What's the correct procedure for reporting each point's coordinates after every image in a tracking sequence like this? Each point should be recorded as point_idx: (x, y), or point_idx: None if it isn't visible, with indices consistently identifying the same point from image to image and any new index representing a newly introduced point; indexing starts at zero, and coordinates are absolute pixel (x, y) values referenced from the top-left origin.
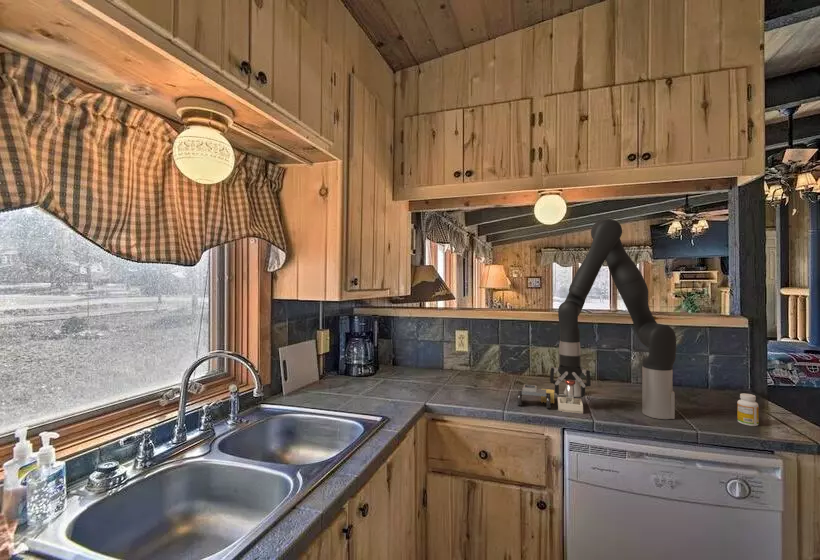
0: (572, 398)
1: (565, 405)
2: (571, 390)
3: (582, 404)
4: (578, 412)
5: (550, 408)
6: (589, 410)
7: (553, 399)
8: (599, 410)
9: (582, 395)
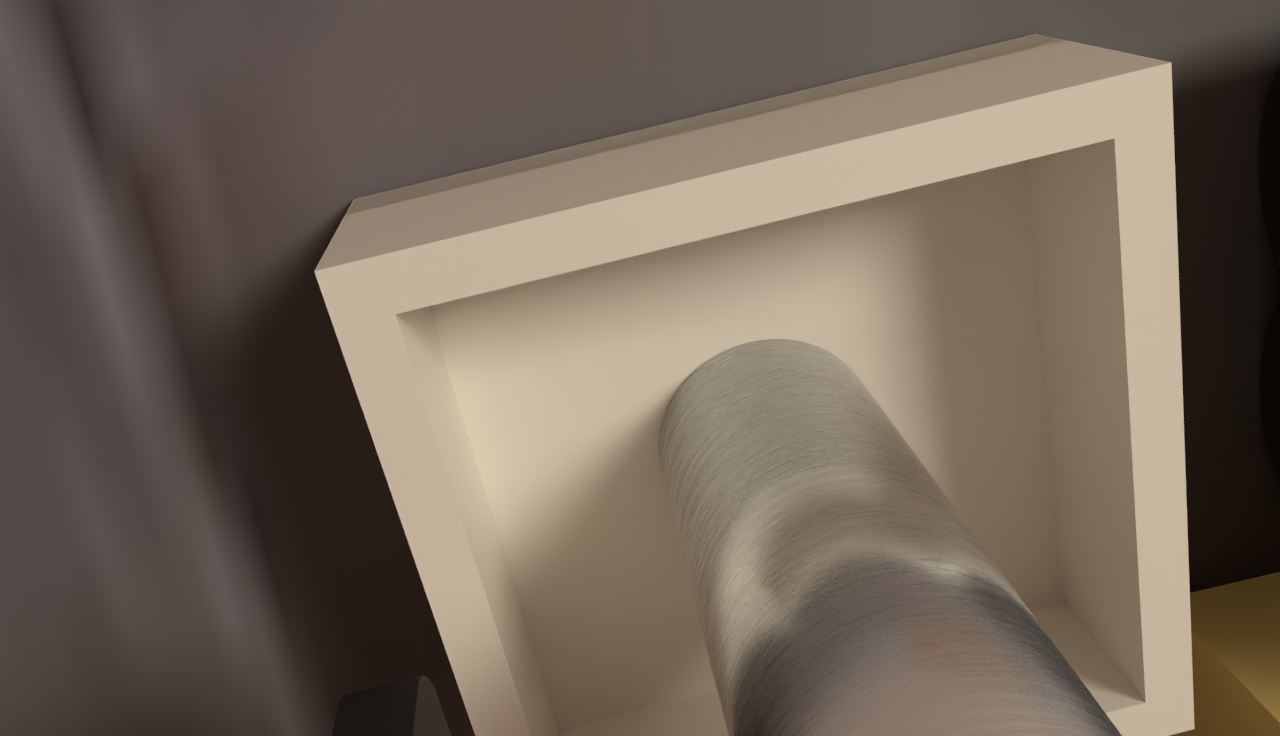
0: (744, 523)
1: (905, 113)
2: (879, 706)
3: (363, 397)
4: (477, 171)
5: (1278, 69)
6: (268, 579)
7: (1246, 661)
8: (45, 714)
9: (366, 722)
